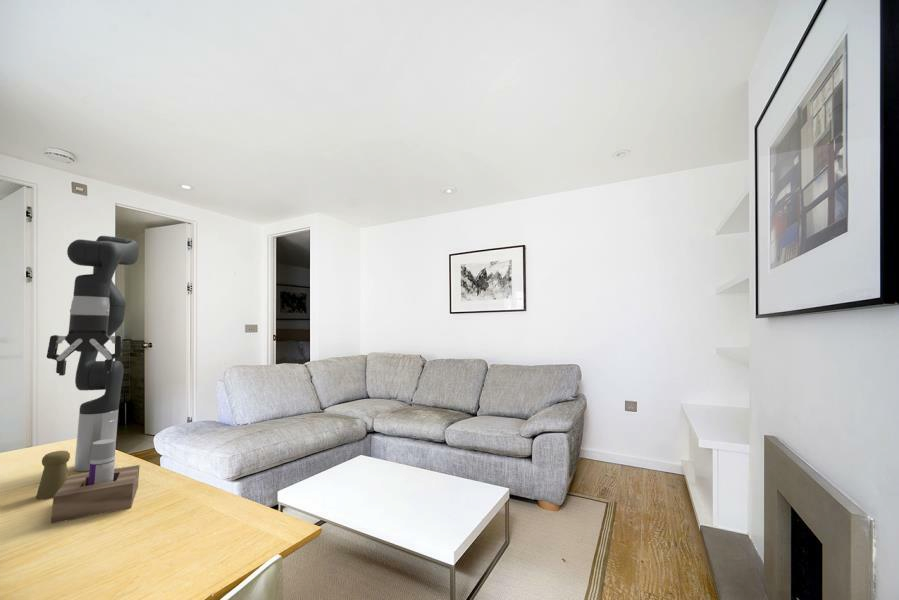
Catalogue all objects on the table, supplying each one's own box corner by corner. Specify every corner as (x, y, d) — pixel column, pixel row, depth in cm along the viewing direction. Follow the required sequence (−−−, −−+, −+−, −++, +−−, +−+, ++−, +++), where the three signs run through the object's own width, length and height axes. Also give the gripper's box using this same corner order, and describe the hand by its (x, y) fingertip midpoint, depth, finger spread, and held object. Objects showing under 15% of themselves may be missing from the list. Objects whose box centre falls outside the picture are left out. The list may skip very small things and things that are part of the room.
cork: (32, 496, 97) (36, 453, 98) (64, 487, 102) (67, 446, 103) (40, 501, 94) (44, 457, 95) (72, 492, 99) (76, 450, 100)
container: (85, 501, 94) (91, 441, 95) (110, 495, 97) (115, 437, 98) (86, 508, 91) (92, 445, 92) (112, 501, 94) (117, 441, 95)
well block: (67, 499, 96) (69, 475, 96) (137, 486, 103) (139, 465, 104) (50, 523, 84) (53, 496, 84) (131, 507, 92) (133, 482, 92)
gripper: (126, 314, 107) (122, 371, 105) (56, 313, 99) (50, 374, 97) (122, 314, 101) (117, 374, 99) (47, 312, 92) (41, 377, 91)
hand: (84, 374), depth 98 cm, fingers open, 8 cm apart
